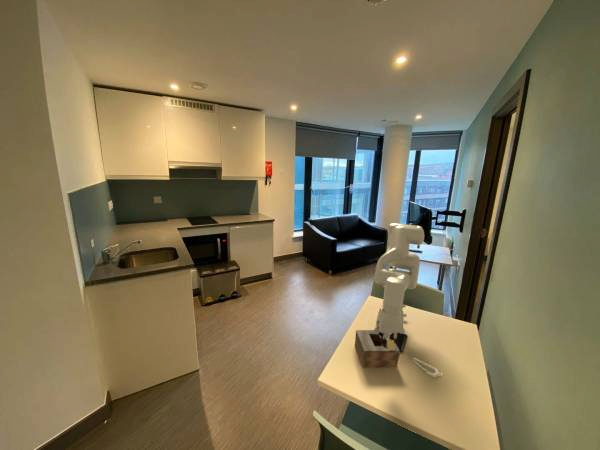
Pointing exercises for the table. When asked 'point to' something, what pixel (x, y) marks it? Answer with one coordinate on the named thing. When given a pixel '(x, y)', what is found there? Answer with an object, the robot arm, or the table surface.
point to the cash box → (374, 350)
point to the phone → (401, 341)
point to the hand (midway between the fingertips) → (387, 344)
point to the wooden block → (389, 344)
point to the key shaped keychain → (429, 367)
